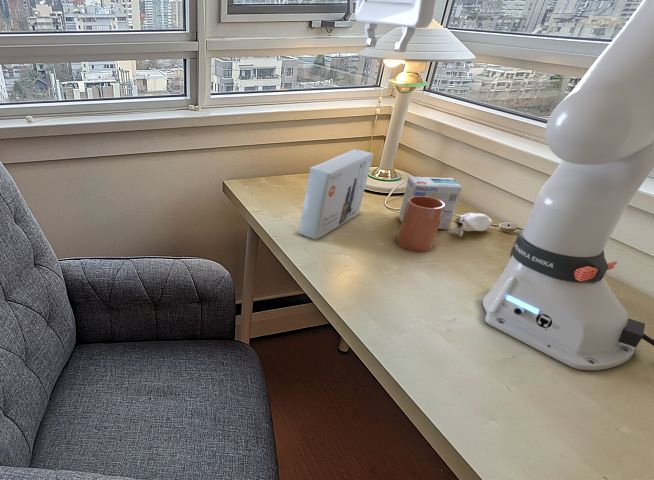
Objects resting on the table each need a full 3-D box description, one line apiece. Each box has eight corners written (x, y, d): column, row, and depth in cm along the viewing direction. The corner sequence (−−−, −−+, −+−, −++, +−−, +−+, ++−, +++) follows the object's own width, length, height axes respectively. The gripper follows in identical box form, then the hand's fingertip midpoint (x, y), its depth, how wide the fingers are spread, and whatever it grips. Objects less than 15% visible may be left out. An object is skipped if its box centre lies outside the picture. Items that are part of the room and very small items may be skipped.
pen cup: (439, 248, 106) (452, 205, 101) (413, 253, 104) (425, 210, 98) (415, 234, 112) (426, 193, 106) (389, 239, 109) (400, 198, 104)
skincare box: (318, 241, 108) (329, 173, 100) (297, 234, 112) (306, 167, 103) (361, 214, 121) (374, 151, 113) (341, 208, 124) (353, 147, 116)
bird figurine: (469, 246, 110) (497, 227, 113) (469, 219, 106) (497, 201, 109) (449, 241, 114) (477, 223, 117) (448, 216, 110) (476, 197, 113)
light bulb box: (440, 218, 119) (453, 176, 113) (449, 230, 114) (464, 186, 108) (396, 216, 120) (407, 175, 114) (403, 228, 115) (415, 184, 109)
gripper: (452, -29, 88) (431, 54, 96) (379, -28, 104) (366, 44, 112) (426, -30, 86) (407, 55, 94) (355, -28, 102) (344, 45, 110)
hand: (384, 49), depth 103 cm, fingers open, 8 cm apart
